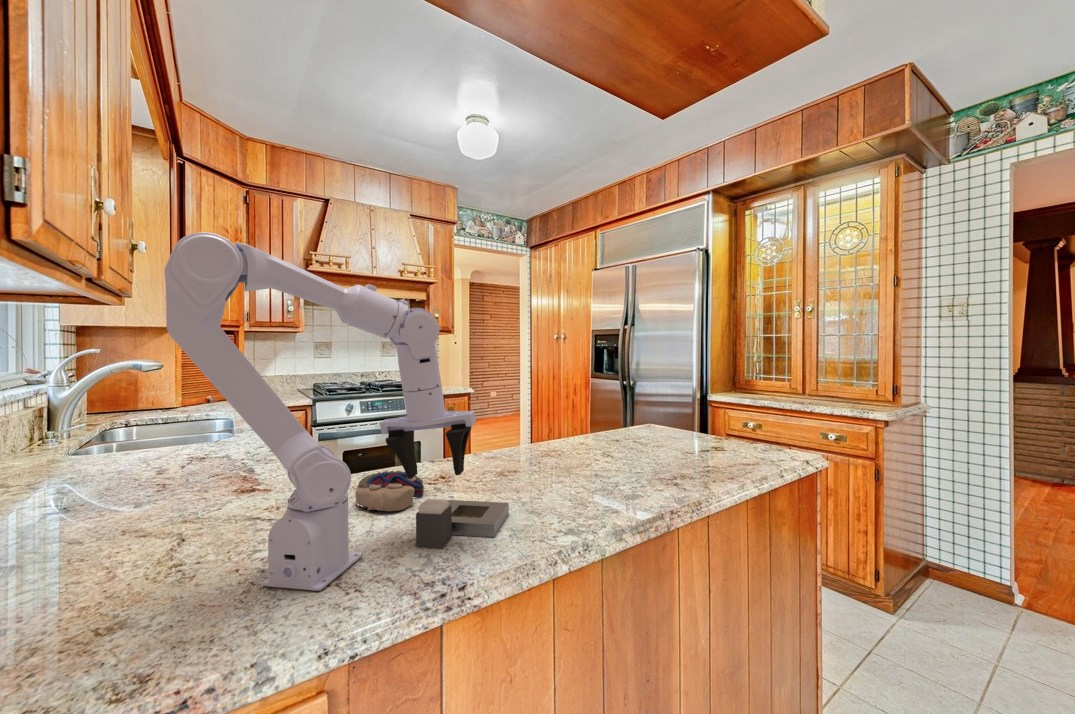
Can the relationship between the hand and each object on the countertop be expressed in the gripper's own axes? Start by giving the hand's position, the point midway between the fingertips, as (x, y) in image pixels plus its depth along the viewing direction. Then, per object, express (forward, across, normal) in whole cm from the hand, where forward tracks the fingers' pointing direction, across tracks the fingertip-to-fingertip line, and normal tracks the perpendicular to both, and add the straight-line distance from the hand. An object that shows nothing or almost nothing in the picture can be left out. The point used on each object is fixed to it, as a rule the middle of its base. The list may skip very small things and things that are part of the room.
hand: (436, 474), depth 68 cm
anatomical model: (+10, +17, -14) cm, 24 cm away
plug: (+10, +1, +3) cm, 10 cm away
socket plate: (+11, -2, -5) cm, 12 cm away
